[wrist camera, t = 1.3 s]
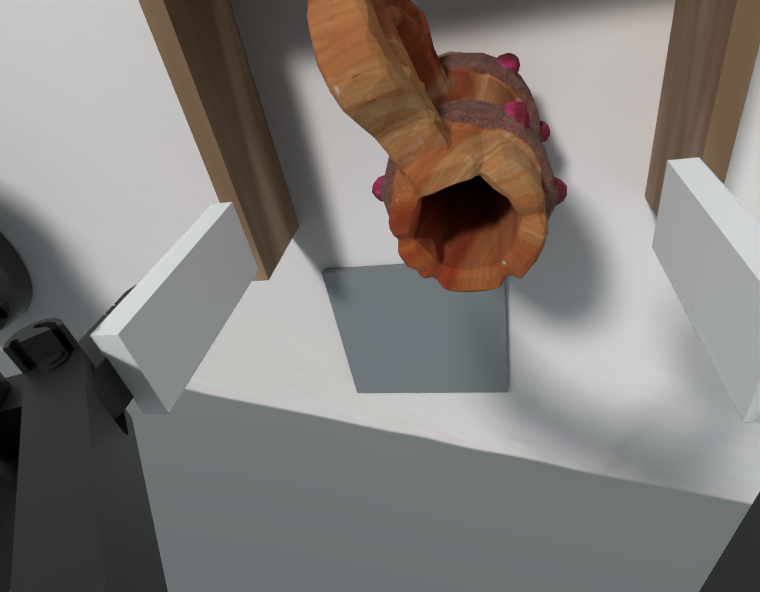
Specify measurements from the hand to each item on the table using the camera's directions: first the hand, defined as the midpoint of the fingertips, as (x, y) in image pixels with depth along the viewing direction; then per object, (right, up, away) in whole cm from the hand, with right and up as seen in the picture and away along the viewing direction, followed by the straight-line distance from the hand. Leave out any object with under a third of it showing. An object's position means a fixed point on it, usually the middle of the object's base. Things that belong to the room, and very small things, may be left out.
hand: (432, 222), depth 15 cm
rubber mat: (+2, -5, +26) cm, 27 cm away
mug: (+2, +11, +14) cm, 18 cm away
